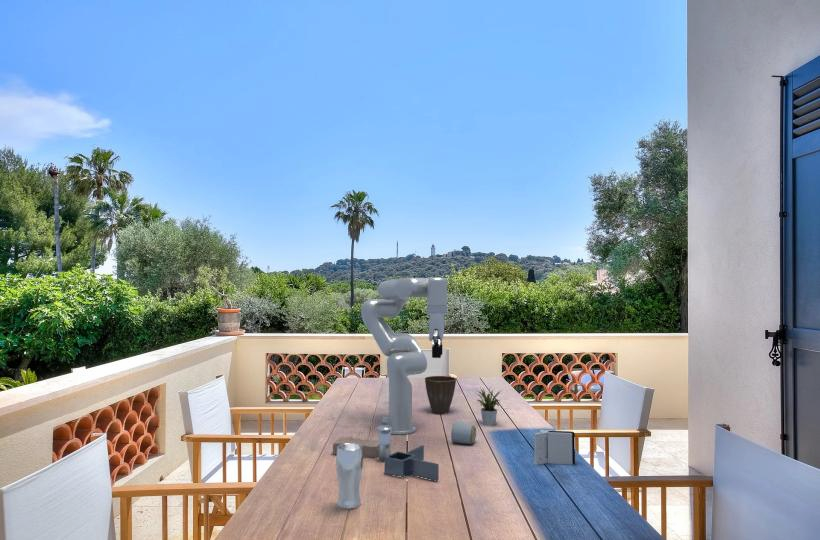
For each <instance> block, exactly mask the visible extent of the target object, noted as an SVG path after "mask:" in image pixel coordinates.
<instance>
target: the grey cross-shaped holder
mask: <svg viewBox="0 0 820 540" xmlns="http://www.w3.org/2000/svg"><path fill="white" fill-rule="evenodd" d="M423 460H424V461H423ZM439 467H440V466H439V463H436V462H432V461H426V460H425V445H423V444H422V445H419V446H417V447H415V448H413V449H410V450H409V451H406V452H402V451H394V452H392V453H391V454H390V455H388V456H386V457H385V462H384V474H385V475H388V474H391V475H390V476H392V475H395V476H394V477H396V476H401V477H404V476H406V477H408V476H410V475H413V476H412V477H415V476H419V477H423V478H427V479H431V480H436V481H438V480H439V475H440V474H439ZM419 477H418V478H419ZM423 478H422V479H423ZM427 479H426V480H427ZM431 480H430V481H431ZM436 481H435V482H436ZM439 481H440V480H439ZM439 481H438V482H439Z"/></svg>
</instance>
